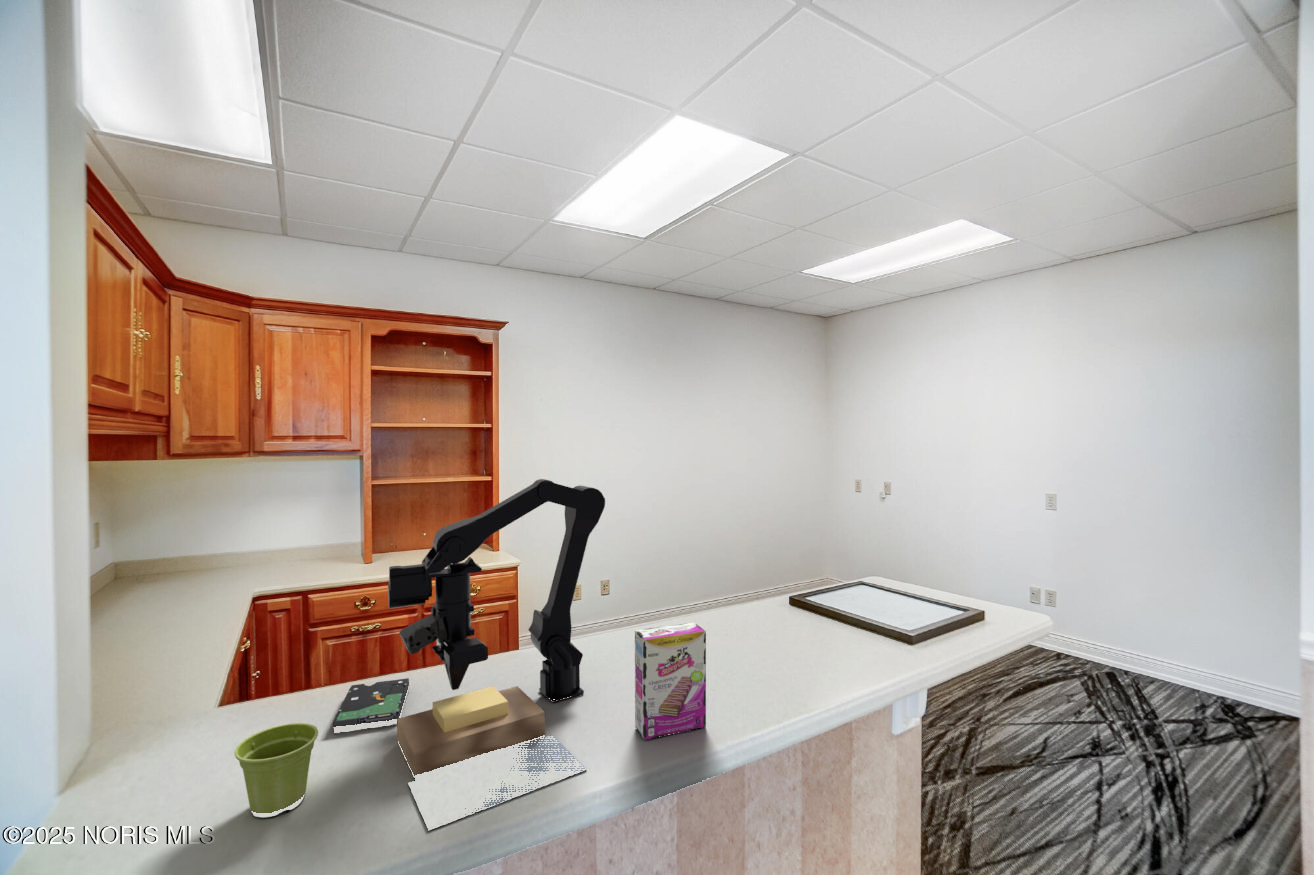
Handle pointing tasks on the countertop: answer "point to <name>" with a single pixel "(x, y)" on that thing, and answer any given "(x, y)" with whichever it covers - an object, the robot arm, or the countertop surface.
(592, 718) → the countertop surface
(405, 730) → the deck
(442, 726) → the block
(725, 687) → the countertop surface
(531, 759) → the mat
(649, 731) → the candy bar box
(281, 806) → the plant pot
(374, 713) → the disk drive
